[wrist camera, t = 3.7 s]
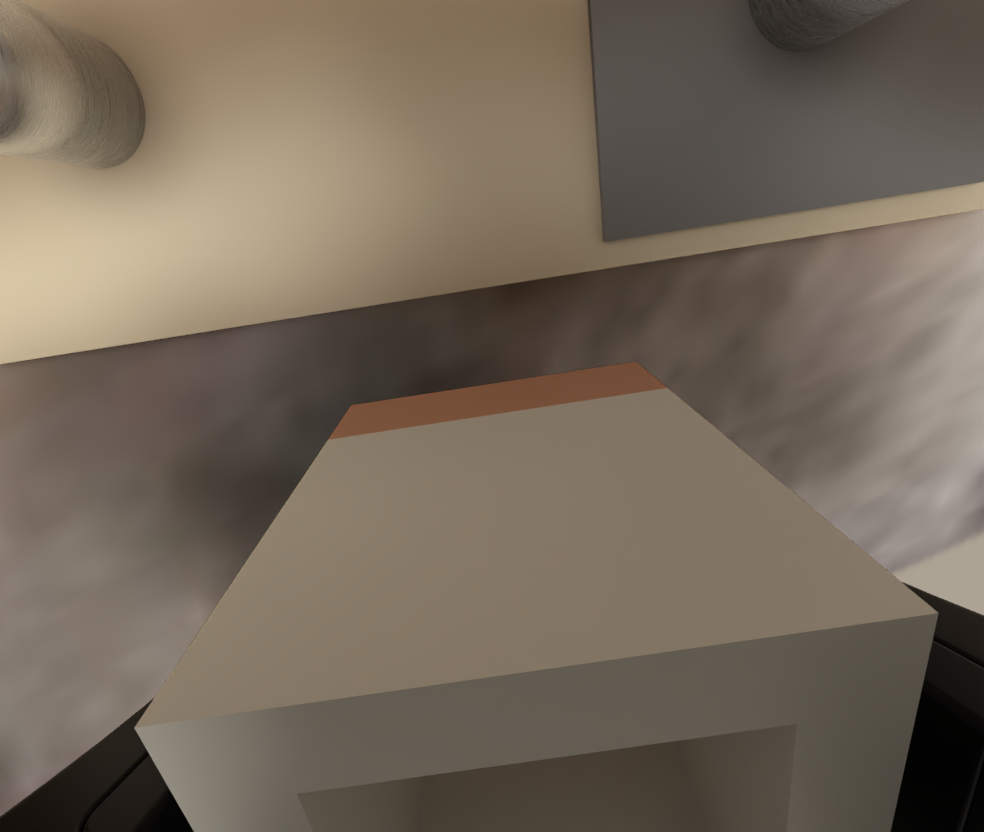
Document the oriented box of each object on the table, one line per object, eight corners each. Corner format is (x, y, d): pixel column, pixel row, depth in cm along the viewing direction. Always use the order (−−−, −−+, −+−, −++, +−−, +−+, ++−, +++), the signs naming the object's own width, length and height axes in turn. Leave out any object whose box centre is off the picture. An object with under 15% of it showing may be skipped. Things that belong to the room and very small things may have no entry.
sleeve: (646, 592, 10) (849, 1018, 5) (410, 626, 11) (339, 1084, 5) (636, 361, 9) (939, 614, 3) (351, 405, 9) (135, 727, 3)
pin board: (974, 204, 10) (1035, 202, 9) (-6, 359, 11) (-61, 375, 10) (1079, -366, 8) (1186, -469, 6) (-260, -127, 8) (-380, -186, 7)
